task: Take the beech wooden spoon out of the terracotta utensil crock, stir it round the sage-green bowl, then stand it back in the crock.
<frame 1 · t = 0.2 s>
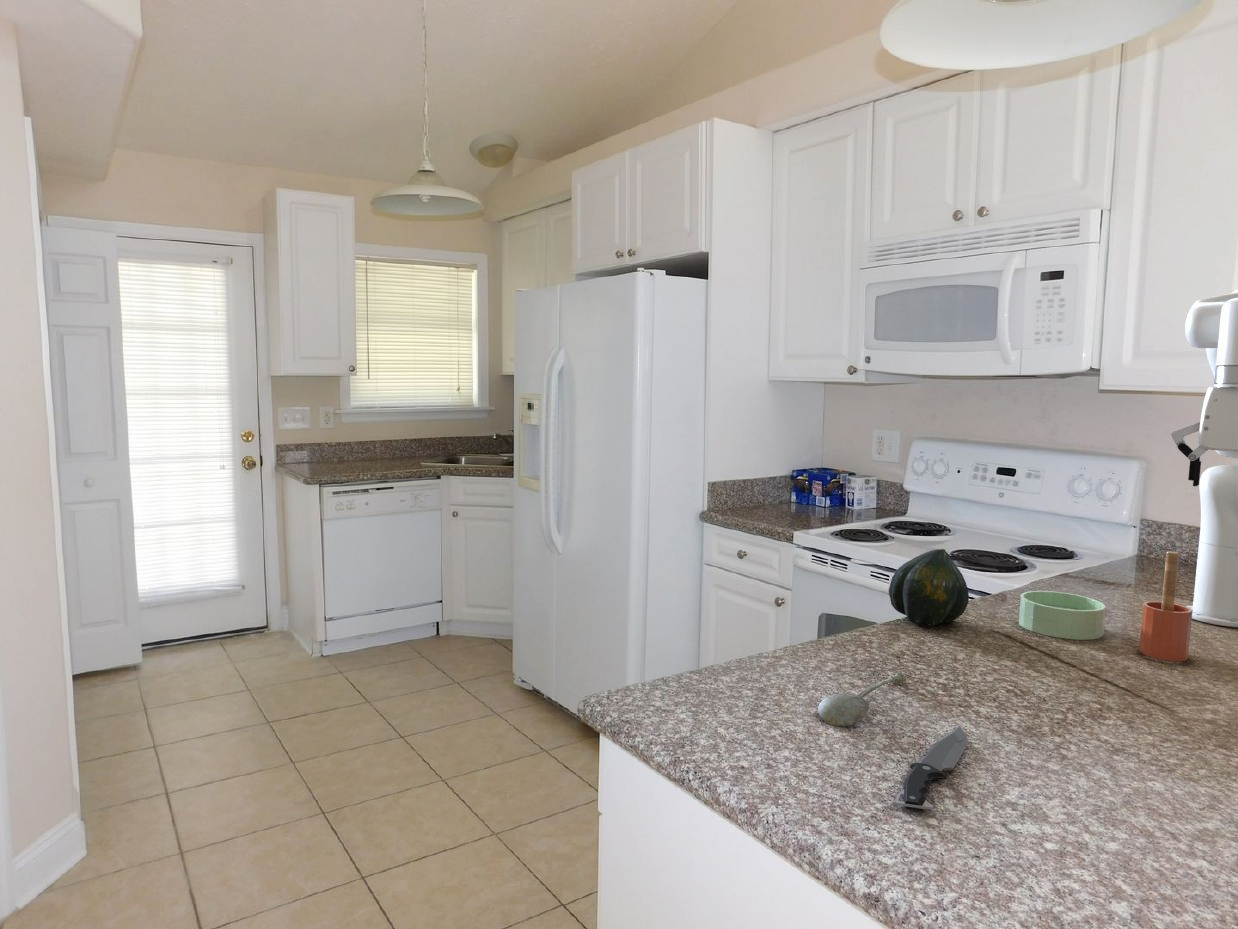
hand: (1233, 488, 127), 31 cm above the worktop, tool pointing down, fingers open, 9 cm apart
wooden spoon: (1163, 654, 141), point 1 cm above the worktop, touching crock
squash: (926, 621, 160), on the worktop
soupspoon: (868, 703, 118), on the worktop
bowl: (1059, 631, 155), on the worktop
crock: (1162, 657, 141), on the worktop
knife: (938, 768, 98), on the worktop
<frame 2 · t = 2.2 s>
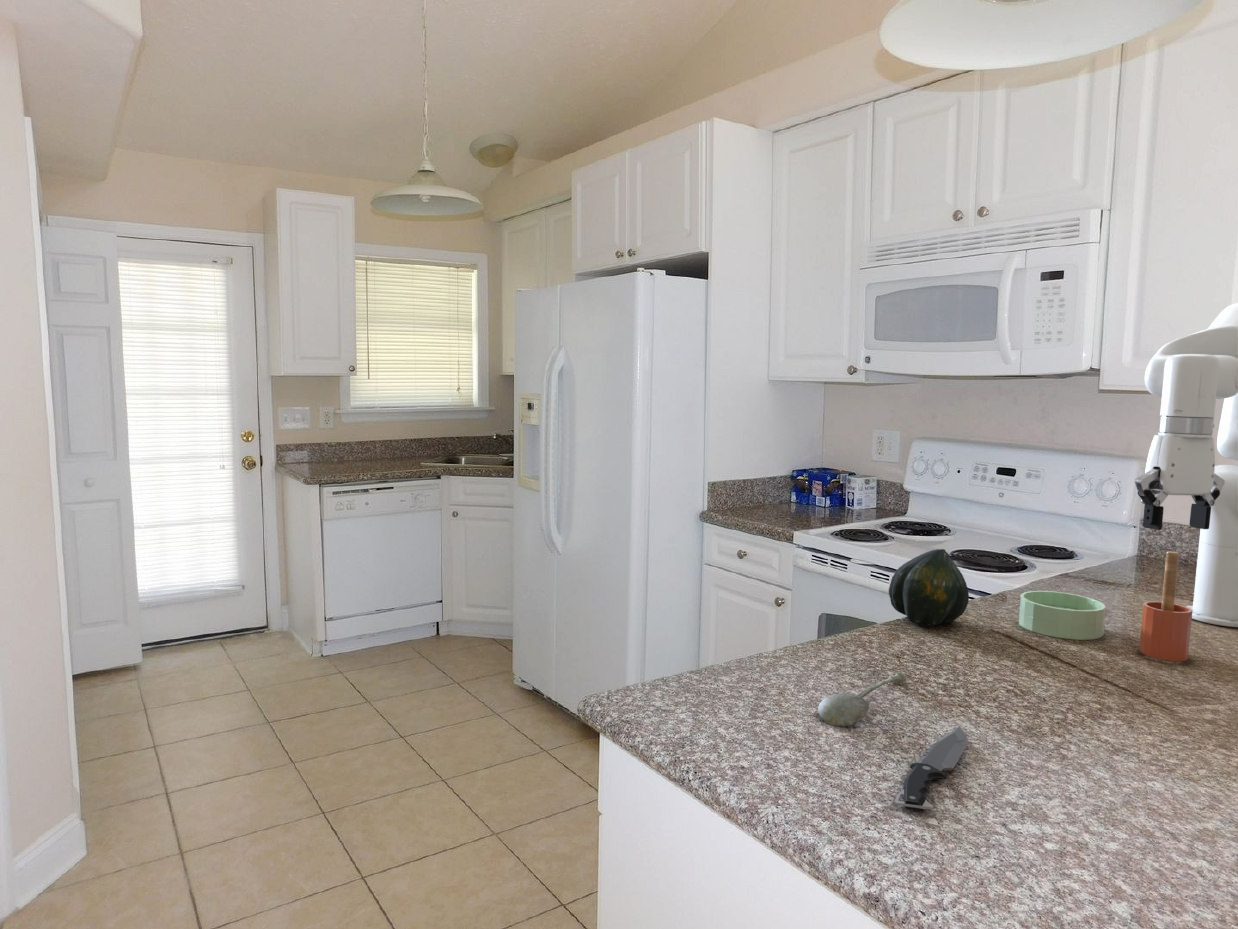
hand: (1175, 528, 138), 23 cm above the worktop, tool pointing down, fingers open, 9 cm apart
nothing on the worktop moved.
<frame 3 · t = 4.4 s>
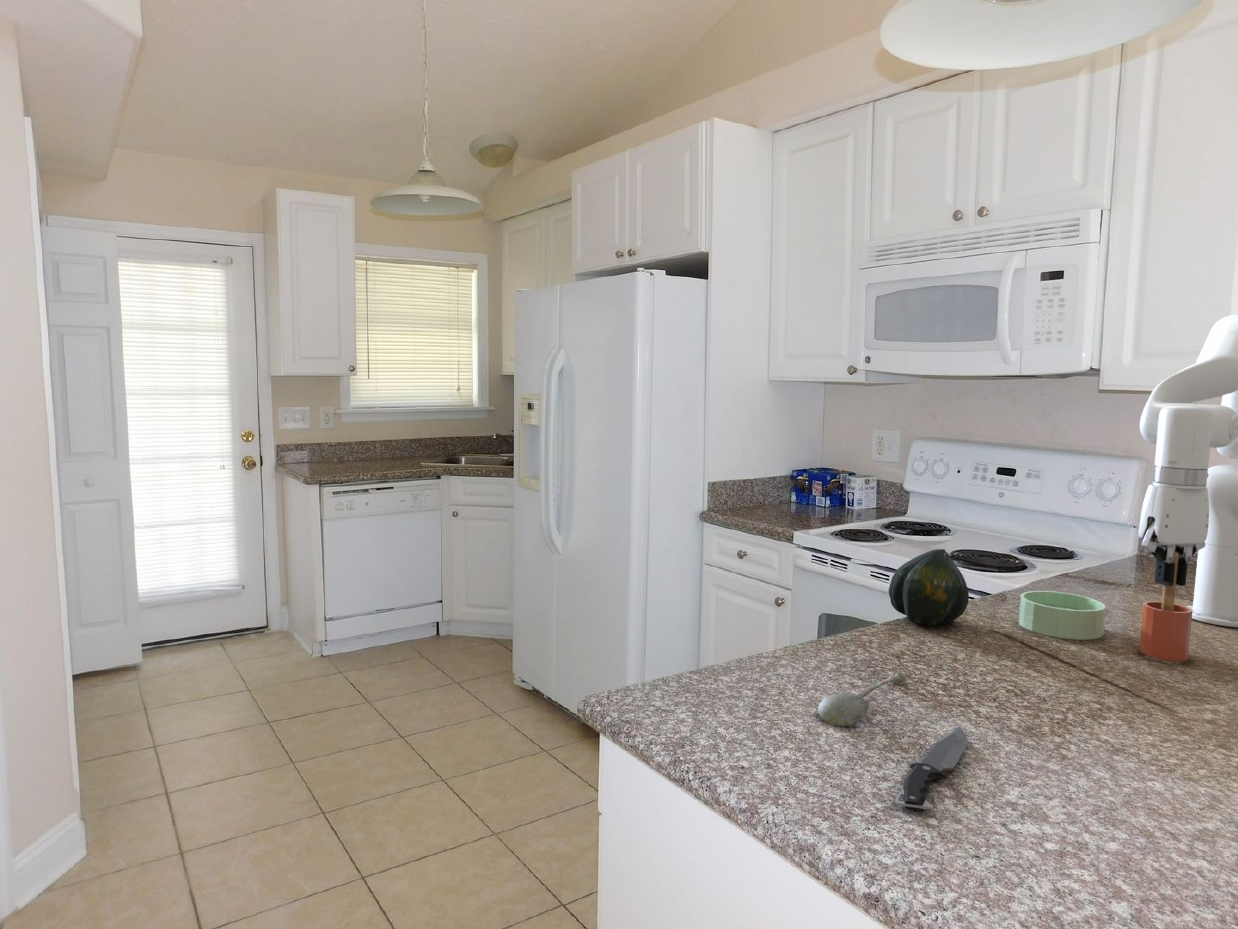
hand: (1169, 583, 139), 13 cm above the worktop, tool pointing down, fingers closed on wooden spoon, 1 cm apart
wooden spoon: (1163, 654, 141), point 1 cm above the worktop, touching crock, gripper
everything else where it was.
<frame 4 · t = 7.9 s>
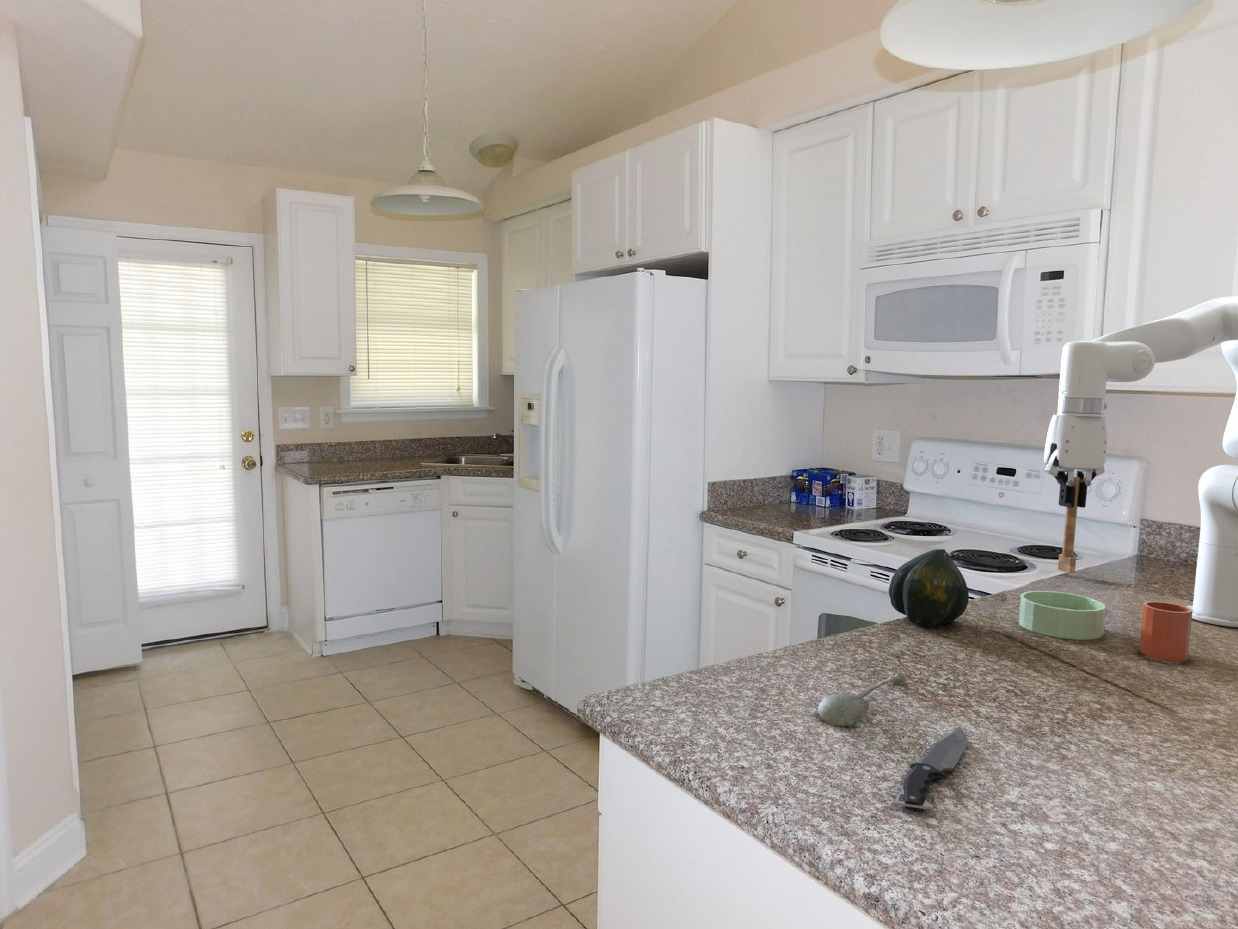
hand: (1071, 505, 152), 24 cm above the worktop, tool pointing down, fingers closed on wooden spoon
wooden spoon: (1066, 571, 153), point 12 cm above the worktop, touching gripper
everything else where it was.
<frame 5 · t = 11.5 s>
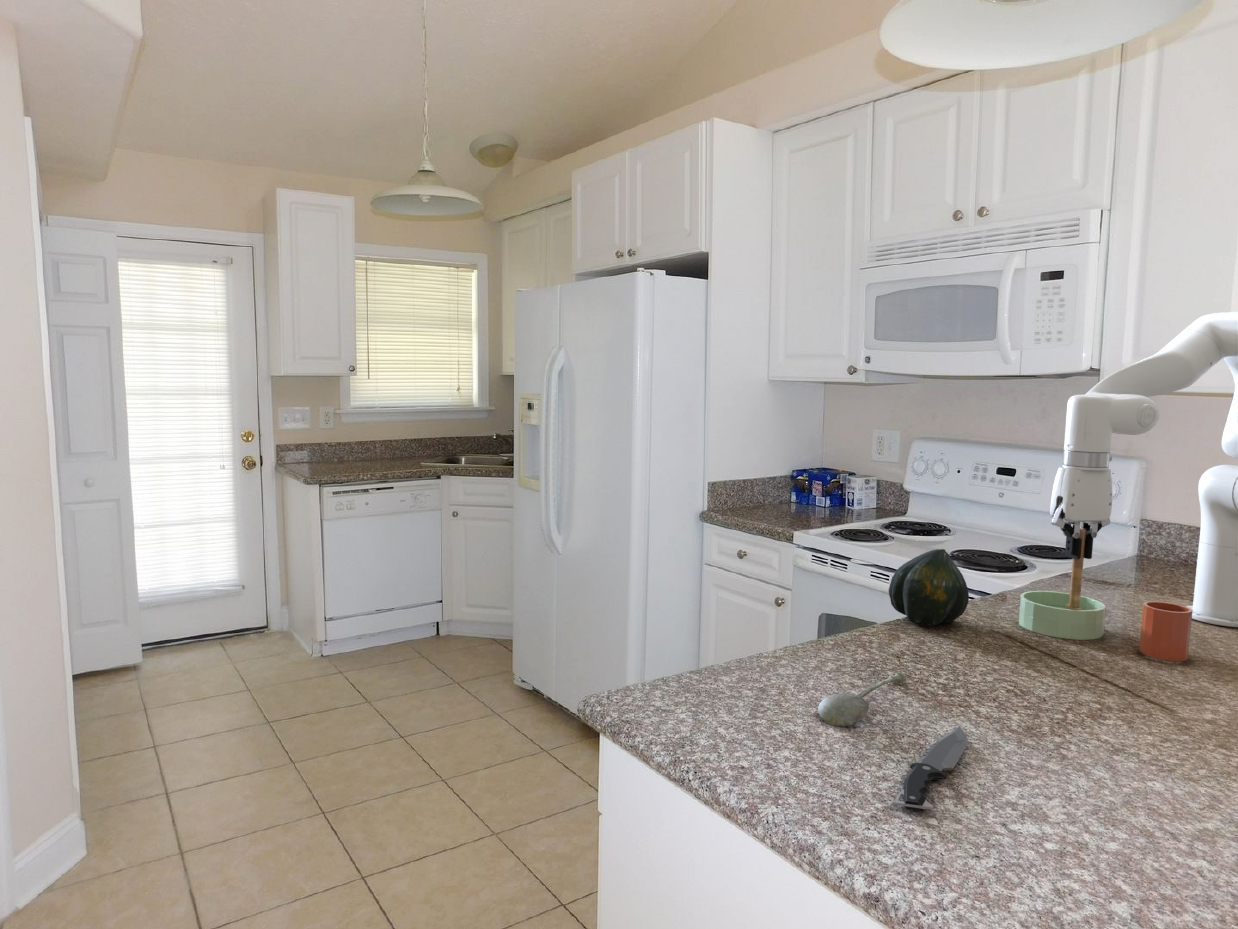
hand: (1078, 557, 153), 14 cm above the worktop, tool pointing down, fingers closed on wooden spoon, 1 cm apart
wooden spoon: (1073, 621, 154), point 2 cm above the worktop, touching gripper
everything else where it was.
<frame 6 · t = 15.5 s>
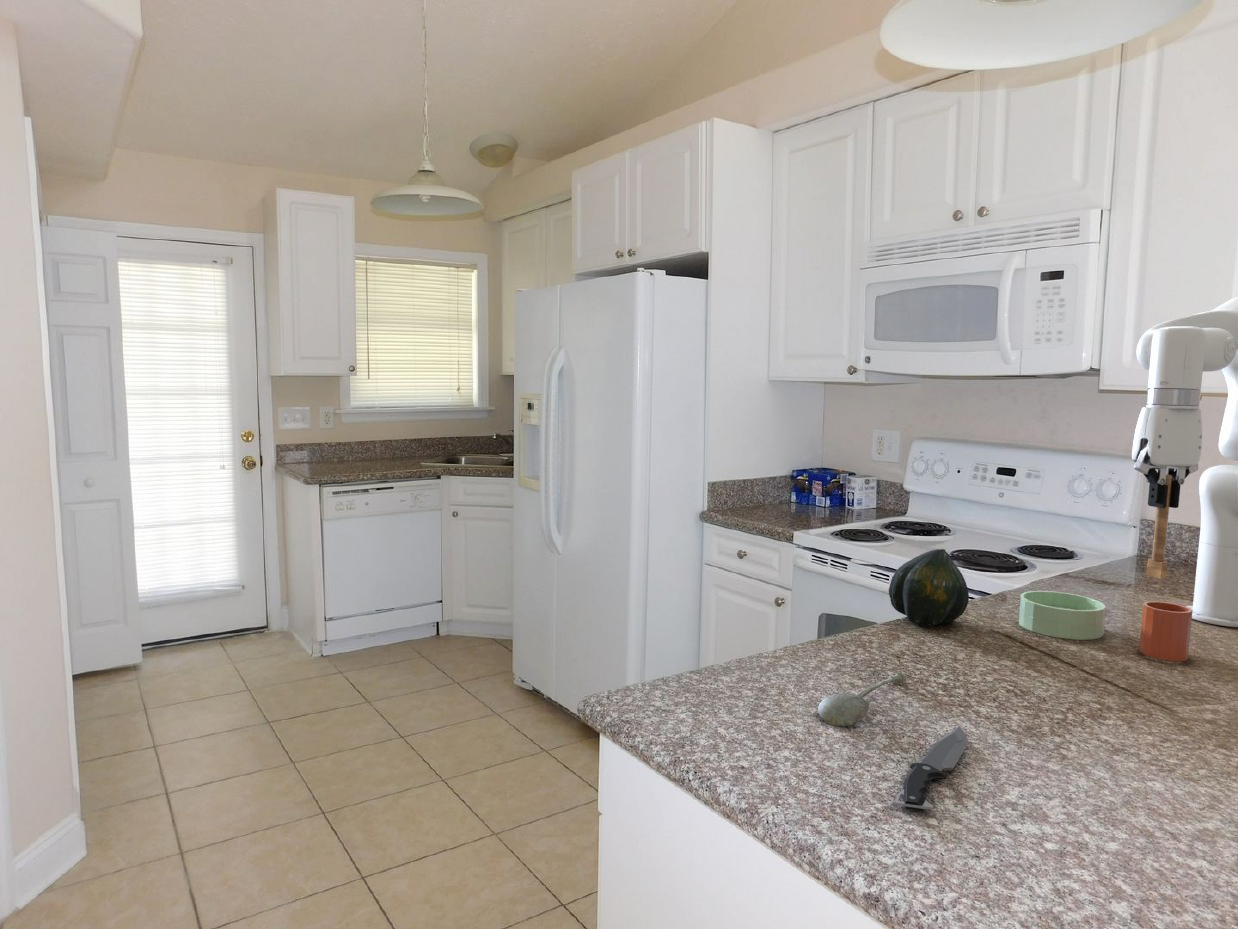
hand: (1162, 506, 140), 26 cm above the worktop, tool pointing down, fingers closed on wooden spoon
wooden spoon: (1156, 577, 141), point 14 cm above the worktop, touching gripper
everything else where it was.
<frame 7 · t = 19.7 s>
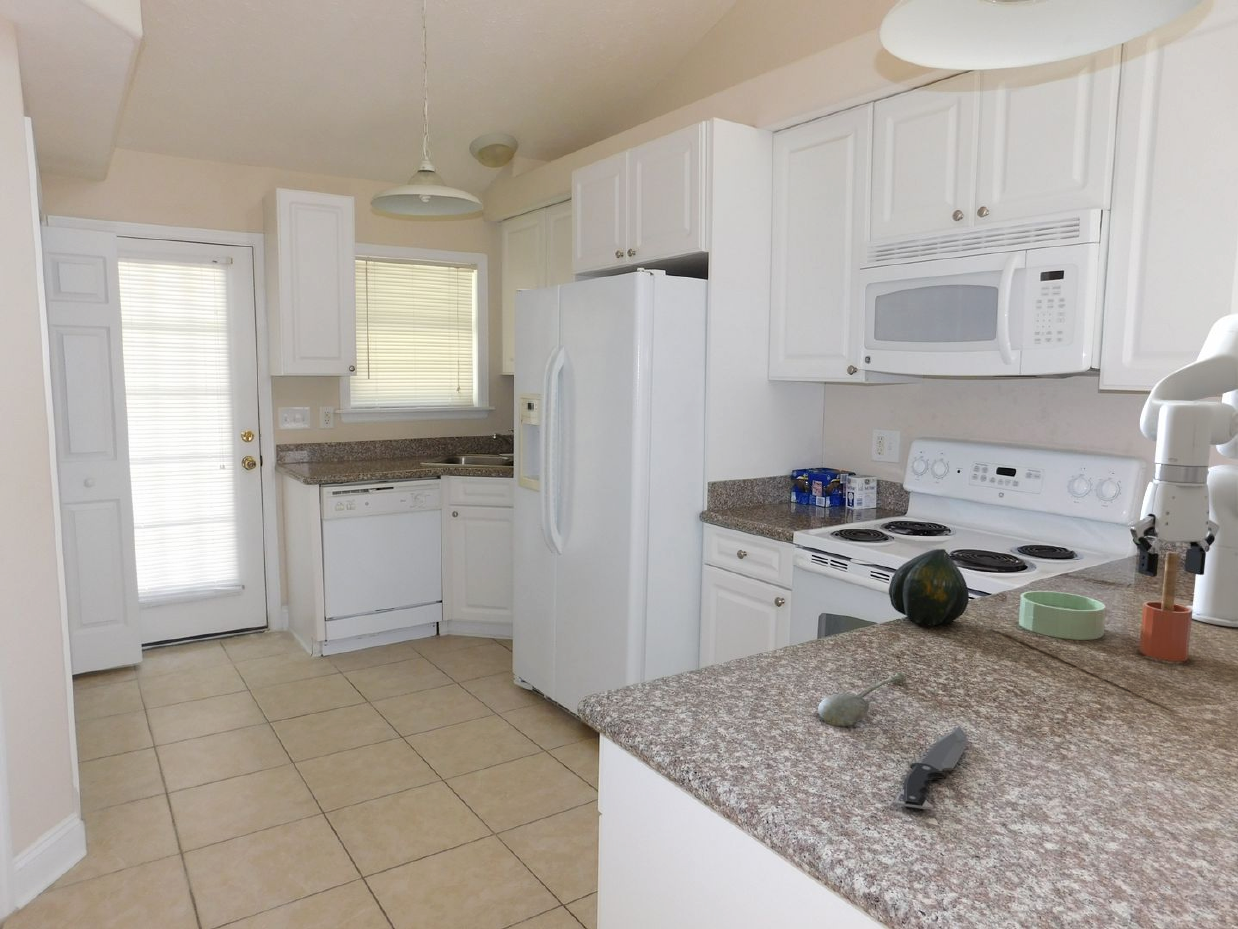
hand: (1170, 574, 139), 15 cm above the worktop, tool pointing down, fingers open, 9 cm apart
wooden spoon: (1163, 654, 140), point 1 cm above the worktop, touching crock
everything else where it was.
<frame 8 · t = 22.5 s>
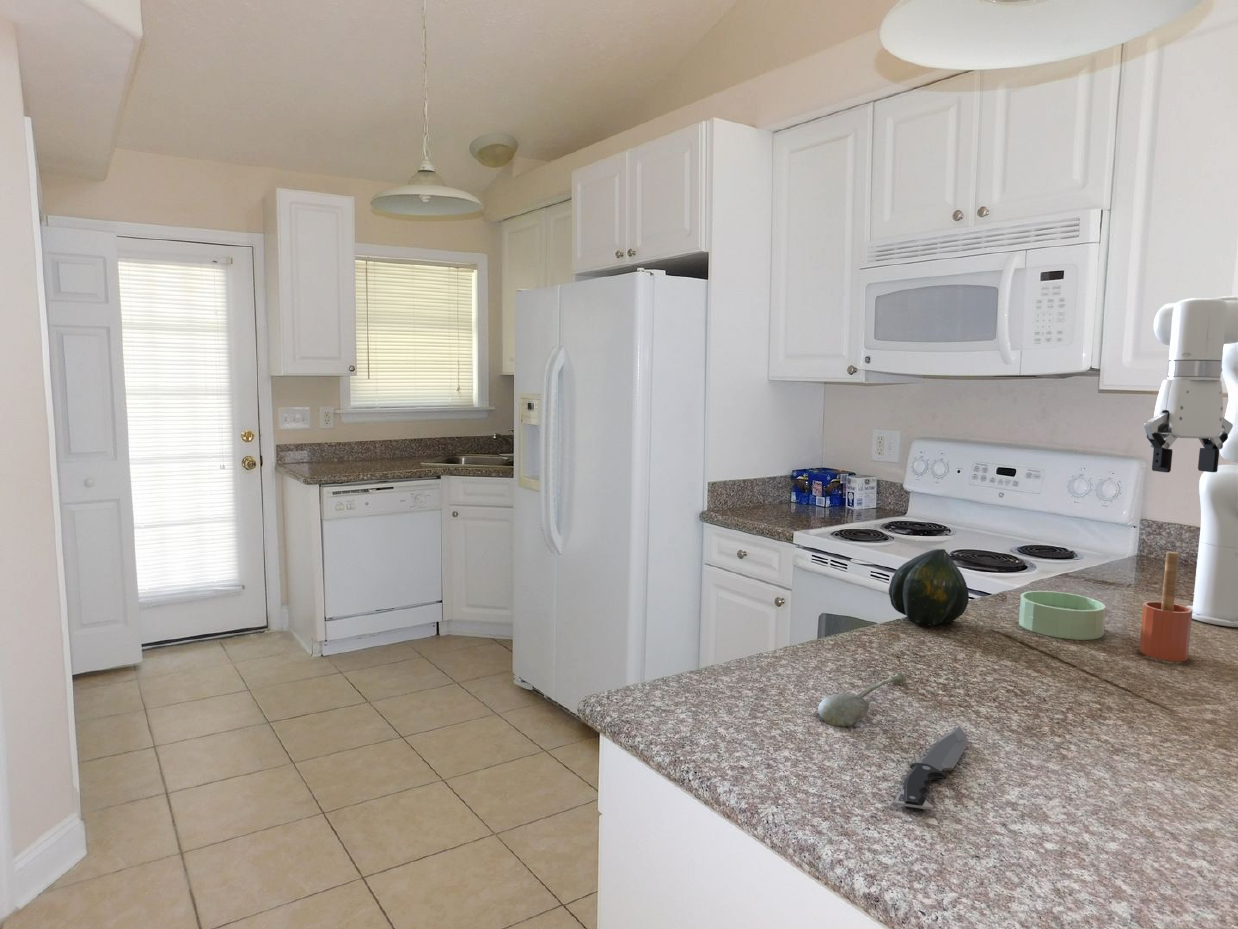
hand: (1184, 471, 140), 32 cm above the worktop, tool pointing down, fingers open, 9 cm apart
nothing on the worktop moved.
at the end: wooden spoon 0.1 cm off-centre in the crock, point 0.6 cm above the crock's base; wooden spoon tilted 0°; the gripper is holding nothing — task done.
